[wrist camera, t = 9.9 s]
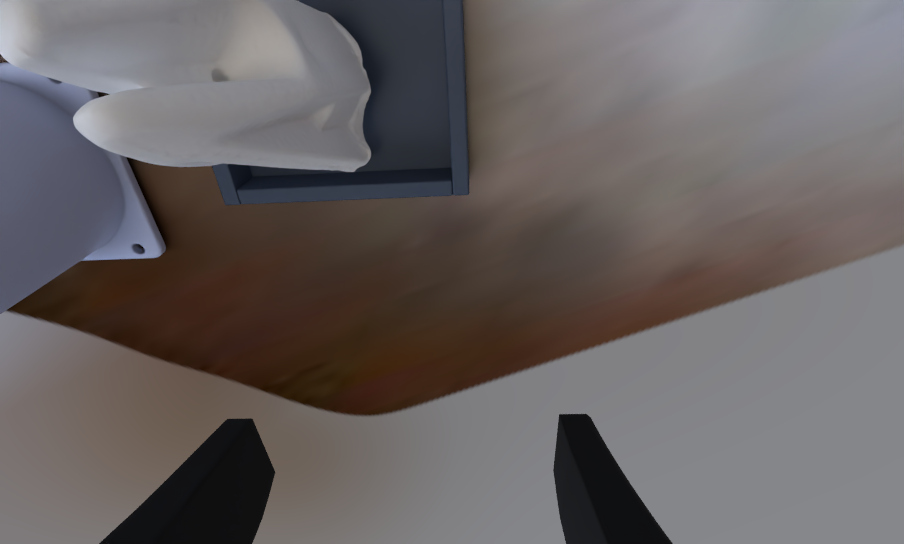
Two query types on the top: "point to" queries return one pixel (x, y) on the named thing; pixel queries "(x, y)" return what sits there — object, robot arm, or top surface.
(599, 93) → the top surface
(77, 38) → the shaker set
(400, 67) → the tray
